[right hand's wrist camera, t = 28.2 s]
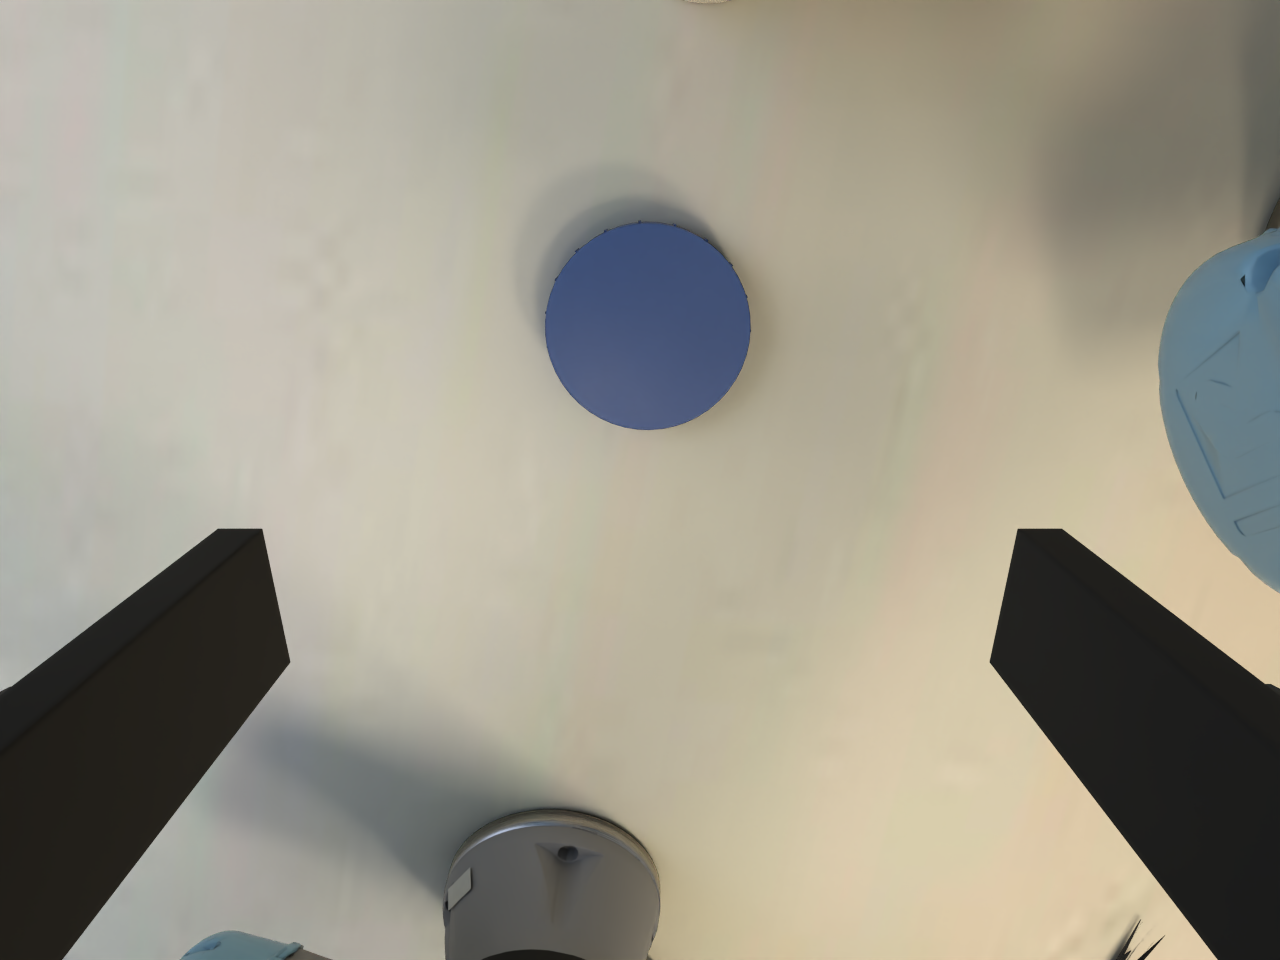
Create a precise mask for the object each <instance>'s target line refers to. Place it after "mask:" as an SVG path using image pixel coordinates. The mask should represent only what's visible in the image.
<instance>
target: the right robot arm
mask: <svg viewBox="0 0 1280 960" xmlns="http://www.w3.org/2000/svg"><path fill="white" fill-rule="evenodd" d="M289 663H290V658H289V653H288V649H287V644H286V639H285V635H284V630H283V625H282V620H281V616H280V611H279V606H278V601H277V597H276V592H275V587H274V582H273V578H272V573H271V568H270V563H269V559H268V554H267V549H266V544H265V540H264V535H263V530H262V529H217V530H216V531H215V532H213V533H212V534H211V535H209V536H208V537H207V538H205V539H204V540H203V541H201V542H200V543H199V544H198V545H196V546H195V547H194V548H192V549H191V550H190V551H188V552H187V553H186V554H184V555H183V556H182V557H181V558H179V559H178V560H177V561H175V562H174V563H173V564H171V565H170V566H169V567H167V568H166V569H165V570H164V571H162V572H161V573H160V574H158V575H157V576H156V577H154V578H153V579H152V580H150V581H149V582H148V583H147V584H145V585H144V586H143V587H141V588H140V589H139V590H137V591H136V592H135V593H133V594H132V595H131V596H130V597H128V598H127V599H126V600H124V601H123V602H122V603H120V604H119V605H118V606H116V607H115V608H114V609H113V610H111V611H110V612H109V613H107V614H106V615H105V616H103V617H102V618H101V619H99V620H98V621H97V622H96V623H94V624H93V625H92V626H90V627H89V628H88V629H86V630H85V631H84V632H82V633H81V634H80V635H79V636H77V637H76V638H75V639H73V640H72V641H71V642H69V643H68V644H67V645H65V646H64V647H63V648H62V649H60V650H59V651H58V652H56V653H55V654H54V655H52V656H51V657H50V658H48V659H47V660H46V661H45V662H43V663H42V664H41V665H39V666H38V667H37V668H35V669H34V670H33V671H31V672H30V673H29V674H28V675H26V676H25V677H24V678H22V679H21V680H20V681H18V682H17V683H16V684H14V685H13V686H12V687H9V688H7V689H5V690H3V691H1V692H0V960H62V959H63V958H64V957H65V955H66V954H67V953H68V951H69V950H70V949H71V948H72V946H73V945H74V944H75V942H76V941H77V940H78V938H79V937H80V936H81V935H82V933H83V932H84V931H85V929H86V928H87V927H88V925H89V924H90V923H91V922H92V920H93V919H94V918H95V916H96V915H97V914H98V912H99V911H100V910H101V908H102V907H103V906H104V905H105V903H106V902H107V901H108V899H109V898H110V897H111V895H112V894H113V893H114V892H115V890H116V889H117V888H118V886H119V885H120V884H121V882H122V881H123V880H124V878H125V877H126V876H127V875H128V873H129V872H130V871H131V869H132V868H133V867H134V865H135V864H136V863H137V862H138V860H139V859H140V858H141V856H142V855H143V854H144V852H145V851H146V850H147V848H148V847H149V846H150V845H151V843H152V842H153V841H154V839H155V838H156V837H157V835H158V834H159V833H160V832H161V830H162V829H163V828H164V826H165V825H166V824H167V822H168V821H169V820H170V818H171V817H172V816H173V815H174V813H175V812H176V811H177V809H178V808H179V807H180V805H181V804H182V803H183V802H184V800H185V799H186V798H187V796H188V795H189V794H190V792H191V791H192V790H193V788H194V787H195V786H196V785H197V783H198V782H199V781H200V779H201V778H202V777H203V775H204V774H205V773H206V772H207V770H208V769H209V768H210V766H211V765H212V764H213V762H214V761H215V760H216V758H217V757H218V756H219V755H220V753H221V752H222V751H223V749H224V748H225V747H226V745H227V744H228V743H229V742H230V740H231V739H232V738H233V736H234V735H235V734H236V732H237V731H238V730H239V728H240V727H241V726H242V725H243V723H244V722H245V721H246V719H247V718H248V717H249V715H250V714H251V713H252V712H253V710H254V709H255V708H256V706H257V705H258V704H259V702H260V701H261V700H262V698H263V697H264V696H265V695H266V693H267V692H268V691H269V689H270V688H271V687H272V685H273V684H274V683H275V682H276V680H277V679H278V678H279V676H280V675H281V674H282V672H283V671H284V670H285V668H286V667H287V666H288V665H289ZM990 663H991V665H992V666H993V667H994V668H995V670H996V671H997V672H998V674H999V675H1000V676H1001V678H1002V679H1003V680H1004V682H1005V683H1006V684H1007V685H1008V687H1009V688H1010V689H1011V691H1012V692H1013V693H1014V695H1015V696H1016V697H1017V698H1018V700H1019V701H1020V702H1021V704H1022V705H1023V706H1024V708H1025V709H1026V710H1027V712H1028V713H1029V714H1030V715H1031V717H1032V718H1033V719H1034V721H1035V722H1036V723H1037V725H1038V726H1039V727H1040V728H1041V730H1042V731H1043V732H1044V734H1045V735H1046V736H1047V738H1048V739H1049V740H1050V742H1051V743H1052V744H1053V745H1054V747H1055V748H1056V749H1057V751H1058V752H1059V753H1060V755H1061V756H1062V757H1063V758H1064V760H1065V761H1066V762H1067V764H1068V765H1069V766H1070V768H1071V769H1072V770H1073V772H1074V773H1075V774H1076V775H1077V777H1078V778H1079V779H1080V781H1081V782H1082V783H1083V785H1084V786H1085V787H1086V788H1087V790H1088V791H1089V792H1090V794H1091V795H1092V796H1093V798H1094V799H1095V800H1096V802H1097V803H1098V804H1099V805H1100V807H1101V808H1102V809H1103V811H1104V812H1105V813H1106V815H1107V816H1108V817H1109V818H1110V820H1111V821H1112V822H1113V824H1114V825H1115V826H1116V828H1117V829H1118V830H1119V832H1120V833H1121V834H1122V835H1123V837H1124V838H1125V839H1126V841H1127V842H1128V843H1129V845H1130V846H1131V847H1132V848H1133V850H1134V851H1135V852H1136V854H1137V855H1138V856H1139V858H1140V859H1141V860H1142V862H1143V863H1144V864H1145V865H1146V867H1147V868H1148V869H1149V871H1150V872H1151V873H1152V875H1153V876H1154V877H1155V878H1156V880H1157V881H1158V882H1159V884H1160V885H1161V886H1162V888H1163V889H1164V890H1165V892H1166V893H1167V894H1168V895H1169V897H1170V898H1171V899H1172V901H1173V902H1174V903H1175V905H1176V906H1177V907H1178V908H1179V910H1180V911H1181V912H1182V914H1183V915H1184V916H1185V918H1186V919H1187V920H1188V922H1189V923H1190V924H1191V925H1192V927H1193V928H1194V929H1195V931H1196V932H1197V933H1198V935H1199V936H1200V937H1201V938H1202V940H1203V941H1204V942H1205V944H1206V945H1207V946H1208V948H1209V949H1210V950H1211V952H1212V953H1213V954H1214V955H1215V957H1216V958H1217V959H1218V960H1280V689H1279V688H1277V687H1275V686H1274V685H1272V684H1264V683H1263V682H1262V681H1260V680H1259V679H1258V678H1256V677H1255V676H1254V675H1252V674H1251V673H1250V672H1249V671H1247V670H1246V669H1245V668H1243V667H1242V666H1241V665H1239V664H1238V663H1237V662H1235V661H1234V660H1233V659H1232V658H1230V657H1229V656H1228V655H1226V654H1225V653H1224V652H1222V651H1221V650H1220V649H1218V648H1217V647H1216V646H1215V645H1213V644H1212V643H1211V642H1209V641H1208V640H1207V639H1205V638H1204V637H1203V636H1201V635H1200V634H1199V633H1198V632H1196V631H1195V630H1194V629H1192V628H1191V627H1190V626H1188V625H1187V624H1186V623H1184V622H1183V621H1182V620H1181V619H1179V618H1178V617H1177V616H1175V615H1174V614H1173V613H1171V612H1170V611H1169V610H1167V609H1166V608H1165V607H1164V606H1162V605H1161V604H1160V603H1158V602H1157V601H1156V600H1154V599H1153V598H1152V597H1150V596H1149V595H1148V594H1147V593H1145V592H1144V591H1143V590H1141V589H1140V588H1139V587H1137V586H1136V585H1135V584H1133V583H1132V582H1131V581H1130V580H1128V579H1127V578H1126V577H1124V576H1123V575H1122V574H1120V573H1119V572H1118V571H1116V570H1115V569H1114V568H1113V567H1111V566H1110V565H1109V564H1107V563H1106V562H1105V561H1103V560H1102V559H1101V558H1099V557H1098V556H1097V555H1096V554H1094V553H1093V552H1092V551H1090V550H1089V549H1088V548H1086V547H1085V546H1084V545H1082V544H1081V543H1080V542H1079V541H1077V540H1076V539H1075V538H1073V537H1072V536H1071V535H1069V534H1068V533H1067V532H1065V531H1064V530H1063V529H1018V530H1017V535H1016V540H1015V544H1014V549H1013V554H1012V559H1011V563H1010V568H1009V573H1008V578H1007V582H1006V587H1005V592H1004V597H1003V601H1002V606H1001V611H1000V616H999V620H998V625H997V630H996V635H995V639H994V644H993V649H992V653H991V658H990ZM659 914H660V883H659V877H658V873H657V870H656V868H655V865H654V863H653V861H652V859H651V858H650V856H649V855H648V853H647V852H646V851H645V849H644V848H643V847H642V846H641V845H640V844H639V843H638V842H637V841H636V840H635V839H634V838H633V837H631V836H630V835H629V834H627V833H626V832H625V831H623V830H622V829H620V828H618V827H616V826H615V825H613V824H611V823H609V822H606V821H604V820H602V819H599V818H596V817H593V816H590V815H587V814H582V813H578V812H572V811H565V810H533V811H526V812H520V813H516V814H512V815H509V816H506V817H503V818H500V819H498V820H495V821H493V822H491V823H489V824H487V825H486V826H484V827H482V828H481V829H479V830H478V831H476V832H475V833H474V834H473V835H471V836H470V837H469V838H468V839H467V840H466V841H465V842H464V843H463V845H462V846H461V847H460V849H459V850H458V852H457V854H456V855H455V857H454V859H453V862H452V864H451V868H450V871H449V875H448V878H447V882H446V886H445V892H444V900H443V919H444V925H445V957H446V960H646V959H647V955H648V951H649V949H650V947H651V945H652V941H653V939H654V937H655V934H656V931H657V927H658V921H659ZM303 947H304V946H303V945H301V944H299V943H296V942H293V943H291V944H284V943H281V942H277V941H273V940H269V939H266V938H262V937H258V936H254V935H251V934H247V933H243V932H240V931H224V932H220V933H216V934H214V935H211V936H209V937H207V938H205V939H204V940H202V941H201V942H199V943H198V944H196V945H195V946H194V947H192V948H191V949H190V950H189V951H188V952H187V953H186V954H185V955H184V956H183V957H182V958H181V959H180V960H331V959H328V958H325V957H322V956H320V955H317V954H314V953H311V952H309V951H306V950H303Z"/></svg>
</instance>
